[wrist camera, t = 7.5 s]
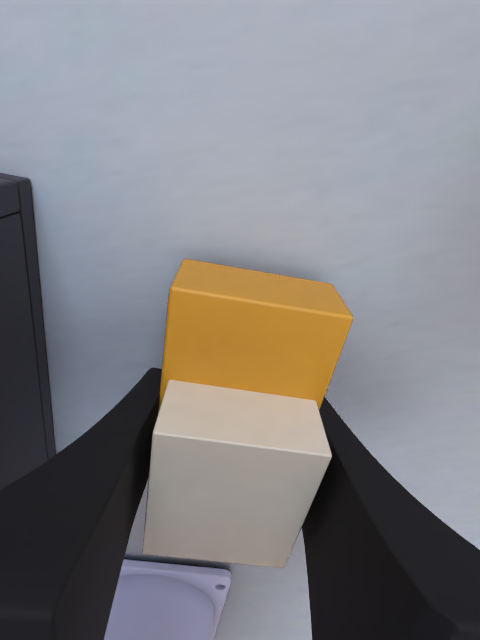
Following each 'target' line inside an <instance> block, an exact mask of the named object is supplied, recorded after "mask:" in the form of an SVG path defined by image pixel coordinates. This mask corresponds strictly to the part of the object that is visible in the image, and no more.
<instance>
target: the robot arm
mask: <svg viewBox="0 0 480 640" xmlns="http://www.w3.org/2000/svg"><path fill="white" fill-rule="evenodd" d="M161 374H162V369H158V368H151V369H149V370H148V371H147V372H146V374H145V375H144V376H143V377H142V379H141V380H140V381H139V382H138V383H137V384H136V385H135V386H134V388H133V389H132V390H131V391H130V392H129V393H128V394H127V395H126V396H125V397H124V398H123V399H122V400H121V401H120V402H119V403H118V404H117V405H116V406H115V407H114V408H113V409H112V410H111V411H110V412H109V413H107V414H106V415H105V416H104V417H103V418H102V419H101V420H100V421H98V422H97V423H96V424H95V425H94V426H93V427H92V428H90V429H89V430H88V431H87V432H85V433H84V434H83V435H82V436H80V437H79V438H78V439H77V440H75V441H74V442H73V443H71V444H70V445H69V446H67V447H66V448H65V449H63V450H62V451H60V452H59V453H58V454H56V455H55V456H53V457H52V458H50V459H49V460H47V461H46V462H44V463H43V464H42V465H40V466H38V467H37V468H35V469H34V470H32V471H31V472H29V473H28V474H26V475H24V476H23V477H21V478H19V479H17V480H16V481H14V482H12V483H11V484H9V485H7V486H5V487H4V488H2V489H0V640H213V639H214V636H215V633H216V629H217V626H218V623H219V620H220V617H221V613H222V610H223V607H224V604H225V601H226V597H227V594H228V591H229V588H230V585H231V573H230V571H228V570H226V569H218V568H208V567H198V566H188V565H178V564H168V563H158V562H147V561H137V560H127V559H124V555H125V551H126V548H127V544H128V540H129V536H130V532H131V528H132V525H133V521H134V518H135V515H136V512H137V509H138V506H139V503H140V500H141V497H142V495H143V492H144V489H145V486H146V483H147V480H148V477H149V470H150V458H151V446H152V435H153V430H154V427H155V423H156V420H157V417H158V408H159V397H160V385H161ZM319 413H320V416H321V420H322V423H323V427H324V430H325V434H326V437H327V440H328V444H329V447H330V451H331V454H332V458H331V460H330V462H329V465H328V467H327V469H326V472H325V474H324V476H323V479H322V481H321V483H320V485H319V488H318V490H317V492H316V495H315V497H314V499H313V502H312V504H311V506H310V509H309V511H308V513H307V516H306V518H305V520H304V523H303V525H302V531H303V537H304V544H305V553H306V563H307V574H308V585H309V598H310V611H311V625H312V640H480V550H479V549H478V548H476V547H475V546H473V545H472V544H471V543H469V542H468V541H467V540H465V539H464V538H463V537H461V536H460V535H459V534H458V533H456V532H455V531H454V530H453V529H451V528H450V527H449V526H447V525H446V524H445V523H444V522H443V521H441V520H440V519H439V518H438V517H437V516H435V515H434V514H433V513H432V512H431V511H429V510H428V509H427V508H426V507H425V506H424V505H422V504H421V503H420V502H419V501H418V500H417V499H416V498H414V497H413V496H412V495H411V494H410V493H409V492H408V491H407V490H406V489H405V488H404V487H403V486H402V485H401V484H400V483H399V482H398V481H396V480H395V479H394V478H393V477H392V476H391V475H390V474H389V473H388V472H387V471H386V470H385V469H384V468H383V466H382V465H381V464H380V463H379V462H378V461H377V460H376V459H375V458H374V457H373V456H372V455H371V453H370V452H369V451H368V450H367V449H366V448H365V447H364V446H363V444H362V443H361V442H360V441H359V440H358V438H357V437H356V436H355V435H354V434H353V432H352V431H351V430H350V429H349V428H348V426H347V425H346V424H345V423H344V421H343V420H342V419H341V418H340V416H339V415H338V414H337V412H336V411H335V410H334V409H333V407H332V406H331V405H330V403H329V402H328V401H327V400H326V398H325V397H324V399H323V401H322V404H321V407H320V409H319Z"/></svg>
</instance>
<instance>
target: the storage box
mask: <svg viewBox="0 0 480 640" xmlns="http://www.w3.org/2000/svg"><path fill="white" fill-rule="evenodd" d="M55 455H56V454H55V444H54V433H53V422H52V412H51V401H50V390H49V379H48V369H47V358H46V347H45V336H44V326H43V315H42V304H41V293H40V283H39V272H38V261H37V251H36V240H35V229H34V218H33V208H32V197H31V186H30V179H28V178H23V177H18V176H12V175H7V174H1V173H0V489H2V488H4V487H5V486H7V485H9V484H11V483H12V482H14V481H16V480H17V479H19V478H21V477H23V476H24V475H26V474H28V473H29V472H31V471H32V470H34V469H35V468H37V467H38V466H40V465H42V464H43V463H44V462H46V461H47V460H49V459H50V458H52V457H53V456H55Z"/></svg>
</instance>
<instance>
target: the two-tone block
mask: <svg viewBox="0 0 480 640" xmlns="http://www.w3.org/2000/svg"><path fill="white" fill-rule="evenodd" d="M352 321H353V316H352V314H351V313H350V311H349V310H348V308H347V306H346V305H345V303H344V302H343V300H342V299H341V297H340V296H339V294H338V292H337V291H336V289H335V288H334V286H333V285H332V284H329V283H323V282H318V281H312V280H306V279H300V278H294V277H289V276H283V275H277V274H271V273H265V272H259V271H254V270H248V269H242V268H236V267H230V266H225V265H219V264H213V263H207V262H201V261H195V260H190V259H183V261H182V263H181V265H180V267H179V270H178V272H177V274H176V276H175V278H174V280H173V282H172V284H171V286H170V288H169V298H168V309H167V319H166V330H165V341H164V352H163V363H162V374H161V385H160V397H159V408H158V417H157V420H156V423H155V427H154V430H153V435H152V446H151V458H150V470H149V481H148V493H147V505H146V516H145V528H144V540H143V551H142V552H143V554H147V555H157V556H167V557H177V558H187V559H197V560H207V561H217V562H227V563H237V564H247V565H257V566H266V567H276V568H284V567H285V565H286V562H287V560H288V558H289V555H290V553H291V551H292V548H293V546H294V544H295V541H296V539H297V537H298V534H299V532H300V530H301V527H302V525H303V523H304V520H305V518H306V516H307V513H308V511H309V509H310V506H311V504H312V502H313V499H314V497H315V495H316V492H317V490H318V488H319V485H320V483H321V481H322V479H323V476H324V474H325V472H326V469H327V467H328V465H329V462H330V460H331V458H332V454H331V451H330V447H329V444H328V440H327V437H326V434H325V430H324V427H323V423H322V420H321V416H320V413H319V409H320V407H321V404H322V401H323V399H324V396H325V393H326V391H327V388H328V385H329V382H330V380H331V377H332V374H333V372H334V369H335V366H336V364H337V361H338V358H339V356H340V353H341V350H342V348H343V345H344V342H345V340H346V337H347V334H348V331H349V329H350V326H351V323H352Z"/></svg>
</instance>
